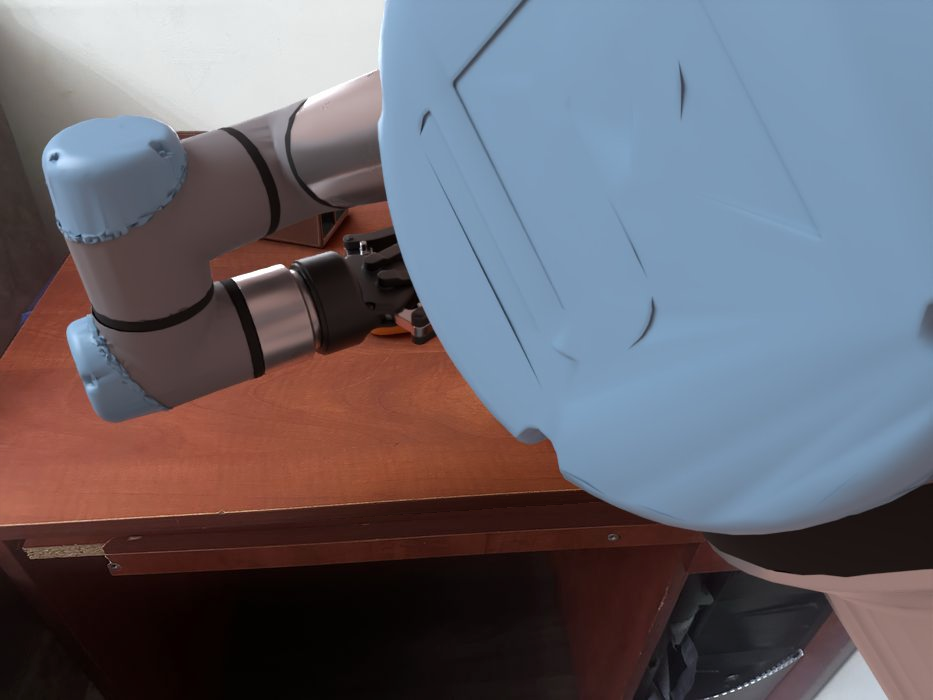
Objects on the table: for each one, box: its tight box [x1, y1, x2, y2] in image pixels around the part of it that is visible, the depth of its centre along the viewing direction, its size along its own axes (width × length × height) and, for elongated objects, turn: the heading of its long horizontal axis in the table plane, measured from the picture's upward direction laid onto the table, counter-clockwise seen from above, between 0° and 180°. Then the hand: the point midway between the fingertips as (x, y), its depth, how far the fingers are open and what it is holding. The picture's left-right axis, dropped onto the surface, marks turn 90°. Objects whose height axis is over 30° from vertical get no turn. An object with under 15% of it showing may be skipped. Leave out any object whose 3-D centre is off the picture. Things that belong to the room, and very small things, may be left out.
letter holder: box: [174, 130, 350, 250], centre depth 94 cm, size 10×20×14 cm, turn 77°
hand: (548, 236), depth 63 cm, fingers closed on supplement box, 5 cm apart
